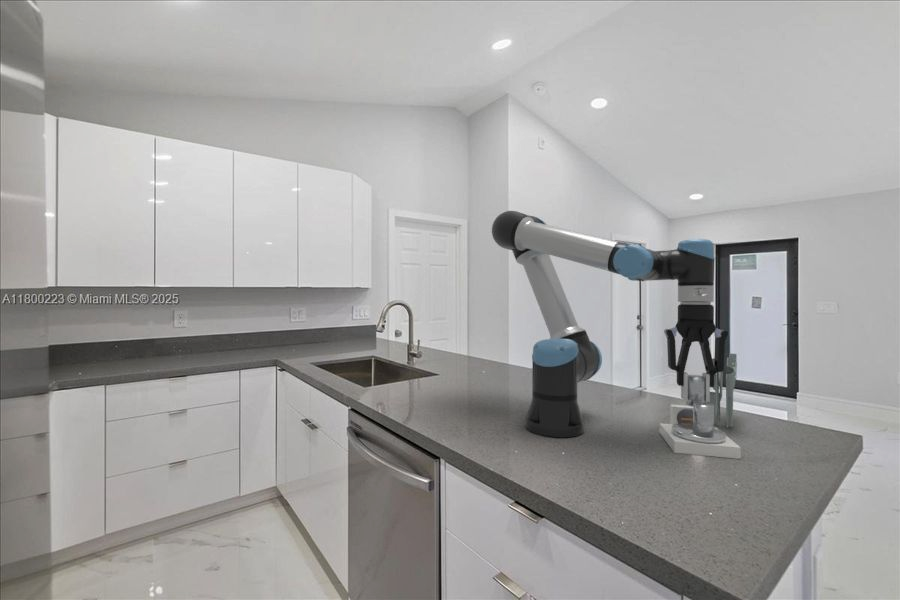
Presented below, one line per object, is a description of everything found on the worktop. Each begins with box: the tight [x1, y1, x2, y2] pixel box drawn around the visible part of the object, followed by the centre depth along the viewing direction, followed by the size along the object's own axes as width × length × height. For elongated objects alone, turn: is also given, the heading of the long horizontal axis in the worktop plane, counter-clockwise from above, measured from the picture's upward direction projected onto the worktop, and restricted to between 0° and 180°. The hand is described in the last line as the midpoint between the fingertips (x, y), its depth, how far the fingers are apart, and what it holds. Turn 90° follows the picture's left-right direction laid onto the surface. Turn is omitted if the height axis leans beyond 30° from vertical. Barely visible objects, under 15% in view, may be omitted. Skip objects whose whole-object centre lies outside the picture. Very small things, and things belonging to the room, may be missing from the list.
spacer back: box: [685, 374, 705, 406], centre depth 98 cm, size 4×4×7 cm
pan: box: [672, 423, 727, 443], centre depth 96 cm, size 11×11×1 cm
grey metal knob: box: [693, 402, 715, 438], centre depth 93 cm, size 4×4×7 cm
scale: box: [659, 403, 742, 460], centre depth 98 cm, size 13×16×7 cm
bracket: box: [705, 353, 738, 429], centre depth 114 cm, size 28×7×20 cm, turn 143°
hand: (694, 399), depth 98 cm, fingers closed on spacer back, 4 cm apart
